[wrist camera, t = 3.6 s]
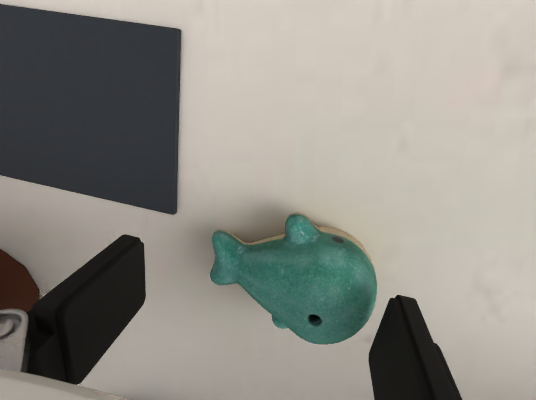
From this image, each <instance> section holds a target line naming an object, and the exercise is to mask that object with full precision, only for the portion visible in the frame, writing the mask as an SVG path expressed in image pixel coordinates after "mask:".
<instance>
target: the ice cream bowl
mask: <svg viewBox="0 0 536 400" xmlns="http://www.w3.org/2000/svg"><path fill="white" fill-rule="evenodd" d="M38 300H39V289H38V288H37V286H36V284H35V283H34V281H33V280H32V278H31V276H30V275H29V273H28V271H27V270H26V268H25V267H24V266H23V265H21V264H20V263H19V262H17V261H16V260H14V259H13V258H12V257H10V256H9V255H8V254H6V253H5V252H3V251H2V250H0V310H2V309H10V308H11V309H20V310H23V311H25V312H26V313H27V312H28V311H29V310H30V309H32V308H33V307H32V305H33V304H35V303H36V302H37V301H38Z"/></svg>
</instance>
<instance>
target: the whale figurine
mask: <svg viewBox="0 0 536 400" xmlns="http://www.w3.org/2000/svg"><path fill="white" fill-rule="evenodd" d="M285 230H286V234H281V235H277V236H273V237H269V238H266V239H262V240H259V241H256V242H252V243H246V242H243V241H241V240H240V239H239V238H237V237H236V236H235V235H233V234H232V233H230V232H228V231H226V230H217V231H216V232H215V233H214V234H213V236H212V244H213V248H214V252H215V262H214V265H213V267H212V269H211V272H210V278H211V280H212V281H213V282H214V283H215V284H217V285H229V284H233V283H237V284H239V285H240V286H242V287H243V288H244V290H245V291H246V292H247V293H248V294H249V295H250V296H251V297H252V298H253V299H254V300H256V301H257V302H258V303H259V304H260V305H261V306H262V307H263V308H264V309H266V310H267V311H268V312H269V313H270V314H272V320H273V322H274V324H275V325H276V326H277V327H279V328H282V329H286V328H289V329H290V330H291V331H293V332H294V333H295V334H296V335H297V336H299V337H300V338H302V339H304V340H306V341H308V342H311V343H314V344H333V343H338V342H341V341H344V340H346V339H348V338H350V337H352V336H353V335H354V334H356V333H357V332H358V331H359V330H360V329H361V328H362V327H363V326H364V325H365V324H366V322H367V321H368V319H369V318H370V316H371V314H372V311H373V308H374V305H375V301H376V294H377V282H376V275H375V269H374V266H373V263H372V260H371V258H370V256H369V254H368V253H367V251H366V250H365V248H364V247H363V246H362V245H361V244H360V243H359V242H358V241H357V240H356V239H355V238H353V237H352V236H351V235H349V234H347V233H346V232H344V231H341V230H339V229H336V228H332V227H317V226H315V225H314V224H313V223H312V222H311V220H310V219H309V218H307V217H306V216H305V215H303V214H301V213H294V214H291V215H290V216H289V217H288V218H287V219H286V221H285Z"/></svg>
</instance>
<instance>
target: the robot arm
mask: <svg viewBox="0 0 536 400" xmlns="http://www.w3.org/2000/svg"><path fill="white" fill-rule="evenodd" d="M145 297H146V292H145V259H144V243H143V242H141V240H140V238H138V237H134V236H130V235H122V236H121V237H119V238H118V239H117V240H115V241H114V242H113V243H112V244H110V245H109V246H108V247H106V248H105V249H104V250H103V251H101V252H100V253H99V254H97V255H96V256H95V257H94V258H92V259H91V260H90V261H88V262H87V263H86V264H85V265H83V266H82V267H81V268H79V269H78V270H77V271H76V272H74V273H73V274H72V275H70V276H69V277H68V278H67V279H65V280H64V281H63V282H61V283H60V284H59V285H58V286H56V287H55V288H54V289H52V290H51V291H50V292H49V293H47V294H46V295H45V296H44V297H42V298H41V299H40V300H38V301H37V302H36V303H35V304H33V305H32V307H33V308H32V309H30V310H29V311H28V312H27V313H26V312H25V311H23V310H20V309H11V308H10V309H2V310H0V400H129V399H125V398H122V397H118V396H114V395H111V394H107V393H104V392H100V391H96V390H93V389H89V388H85V387H82V386H78V385H77V384H79V383H81V382H82V381H83V380H84V378H85V377H86V376H87V375H88V373H89V372H90V371H91V370H92V368H93V367H94V366H95V365H96V363H97V362H98V361H99V360H100V358H101V357H102V356H103V355H104V353H105V352H106V351H107V350H108V348H109V347H110V346H111V345H112V343H113V342H114V341H115V340H116V338H117V337H118V336H119V335H120V333H121V332H122V331H123V330H124V328H125V327H126V326H127V325H128V323H129V322H130V321H131V319H132V318H133V317H134V316H135V314H136V313H137V312H138V311H139V309H140V308H141V307H142V306H143V304H144V301H145ZM369 366H370V373H371V379H372V386H373V392H374V398H375V400H462V398H461V396H460V393H459V391H458V389H457V386H456V384H455V382H454V379H453V377H452V375H451V372H450V370H449V368H448V365H447V363H446V361H445V358H444V356H443V354H442V351H441V349H440V347H439V346H438V345H437V344H436V343H434V342H433V340H432V338H431V335H430V333H429V330H428V328H427V325H426V323H425V321H424V318H423V316H422V313H421V311H420V309H419V306H418V304H417V301H416V300H415V299H414V298H410V297H405V296H401V295H397V296H396V297H395V298H390V300H389V302H388V305H387V307H386V310H385V312H384V315H383V318H382V320H381V323H380V325H379V328H378V331H377V333H376V336H375V339H374V341H373V344H372V346H371V349H370V352H369ZM75 384H76V385H75Z"/></svg>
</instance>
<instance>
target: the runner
mask: <svg viewBox="0 0 536 400" xmlns="http://www.w3.org/2000/svg"><path fill="white" fill-rule="evenodd" d="M180 50H181V30H180V29H176V28H169V27H162V26H154V25H147V24H140V23H133V22H125V21H118V20H111V19H104V18H96V17H89V16H82V15H75V14H67V13H60V12H53V11H46V10H38V9H31V8H24V7H17V6H9V5H2V4H0V175H2V176H7V177H11V178H15V179H20V180H24V181H28V182H33V183H37V184H41V185H46V186H50V187H55V188H59V189H63V190H68V191H72V192H76V193H81V194H85V195H89V196H94V197H98V198H102V199H107V200H111V201H116V202H120V203H124V204H129V205H133V206H137V207H142V208H146V209H150V210H155V211H159V212H163V213H168V214H172V215H174V214H175V213H176V211H177V171H178V130H179V90H180Z"/></svg>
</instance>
